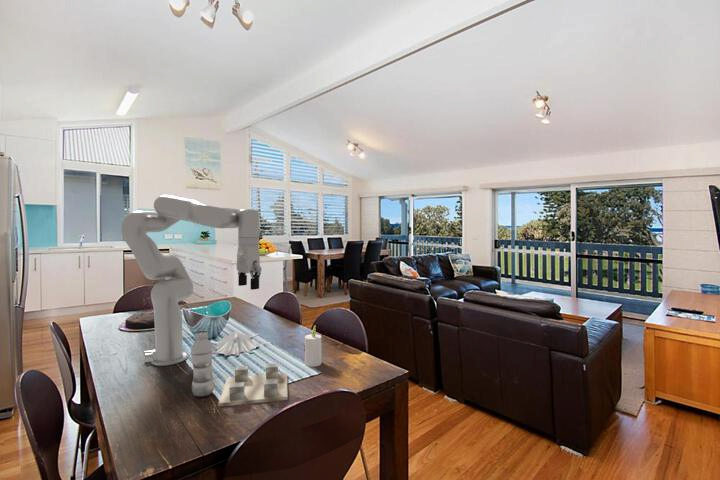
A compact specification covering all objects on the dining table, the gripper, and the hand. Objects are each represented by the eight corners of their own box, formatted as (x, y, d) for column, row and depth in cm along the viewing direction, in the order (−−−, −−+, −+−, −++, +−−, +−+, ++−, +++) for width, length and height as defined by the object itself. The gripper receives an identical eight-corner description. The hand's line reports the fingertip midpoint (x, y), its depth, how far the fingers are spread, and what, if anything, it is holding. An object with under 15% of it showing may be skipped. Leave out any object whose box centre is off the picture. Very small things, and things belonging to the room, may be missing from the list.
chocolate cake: (124, 336, 172) (123, 323, 172) (114, 324, 193) (113, 312, 193) (186, 325, 191) (186, 313, 191) (171, 315, 212) (171, 304, 211)
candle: (304, 360, 142) (304, 322, 142) (321, 360, 143) (321, 322, 142) (303, 366, 136) (303, 327, 135) (321, 366, 137) (321, 327, 136)
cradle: (218, 406, 107) (218, 390, 107) (227, 380, 124) (227, 366, 124) (287, 399, 111) (287, 383, 111) (286, 375, 129) (286, 361, 128)
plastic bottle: (206, 400, 111) (205, 336, 110) (186, 398, 112) (185, 334, 111) (218, 390, 117) (217, 329, 116) (200, 388, 118) (198, 328, 117)
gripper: (229, 241, 140) (229, 285, 141) (250, 243, 127) (250, 292, 128) (247, 240, 145) (247, 283, 146) (269, 243, 132) (269, 289, 133)
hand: (248, 287), depth 137 cm, fingers open, 9 cm apart
